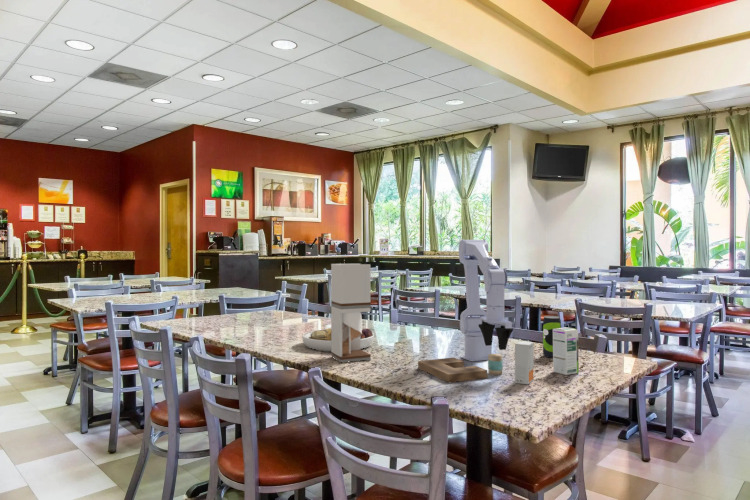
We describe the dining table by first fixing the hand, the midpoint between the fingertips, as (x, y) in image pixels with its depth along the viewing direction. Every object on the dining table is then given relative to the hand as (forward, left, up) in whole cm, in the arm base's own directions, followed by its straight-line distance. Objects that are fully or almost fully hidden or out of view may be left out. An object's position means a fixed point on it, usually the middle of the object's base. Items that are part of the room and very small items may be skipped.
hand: (495, 347), depth 167 cm
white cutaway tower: (+36, -39, -9) cm, 54 cm away
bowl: (+32, -65, -9) cm, 73 cm away
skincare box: (-2, +12, -9) cm, 15 cm away
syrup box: (-22, +8, -9) cm, 25 cm away
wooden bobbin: (0, 0, -9) cm, 9 cm away
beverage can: (-35, -13, -9) cm, 38 cm away
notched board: (+13, -6, -9) cm, 17 cm away
